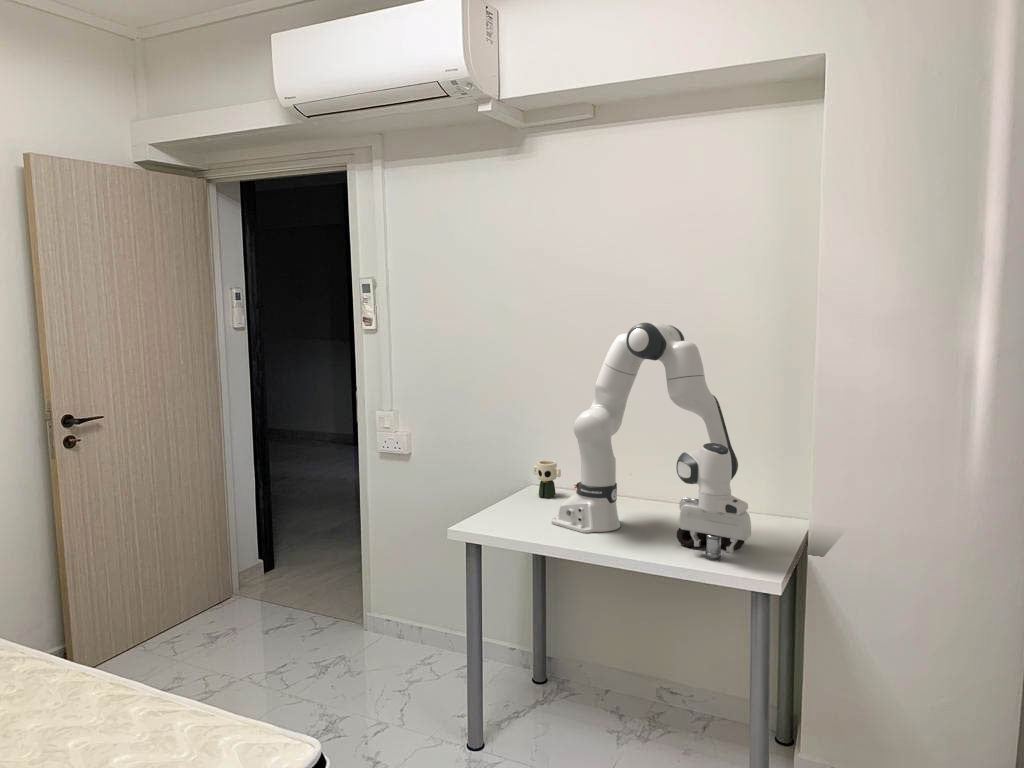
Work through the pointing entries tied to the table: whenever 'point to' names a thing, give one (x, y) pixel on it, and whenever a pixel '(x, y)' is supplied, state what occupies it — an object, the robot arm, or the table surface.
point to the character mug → (547, 477)
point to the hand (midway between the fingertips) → (713, 549)
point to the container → (713, 547)
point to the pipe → (703, 539)
